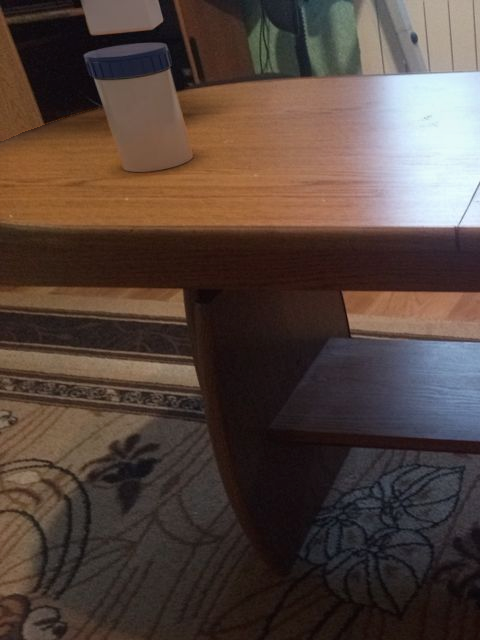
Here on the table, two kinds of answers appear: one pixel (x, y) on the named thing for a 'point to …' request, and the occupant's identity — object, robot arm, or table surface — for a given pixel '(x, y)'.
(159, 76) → the jar
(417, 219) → the table surface
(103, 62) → the jar lid
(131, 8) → the medicine bottle
